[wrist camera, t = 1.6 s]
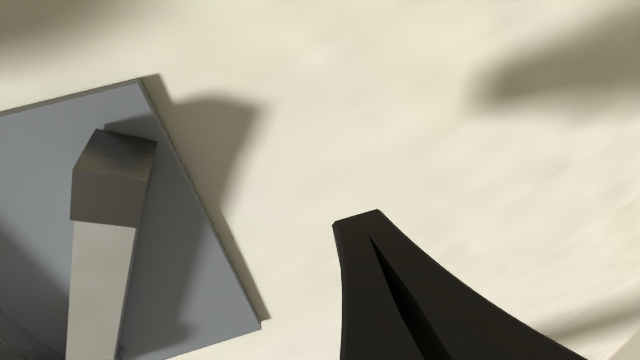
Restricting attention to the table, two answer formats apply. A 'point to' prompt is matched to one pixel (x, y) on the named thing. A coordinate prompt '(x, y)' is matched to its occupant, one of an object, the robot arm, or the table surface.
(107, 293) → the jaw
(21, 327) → the tongs fixed
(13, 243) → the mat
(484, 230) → the table surface
